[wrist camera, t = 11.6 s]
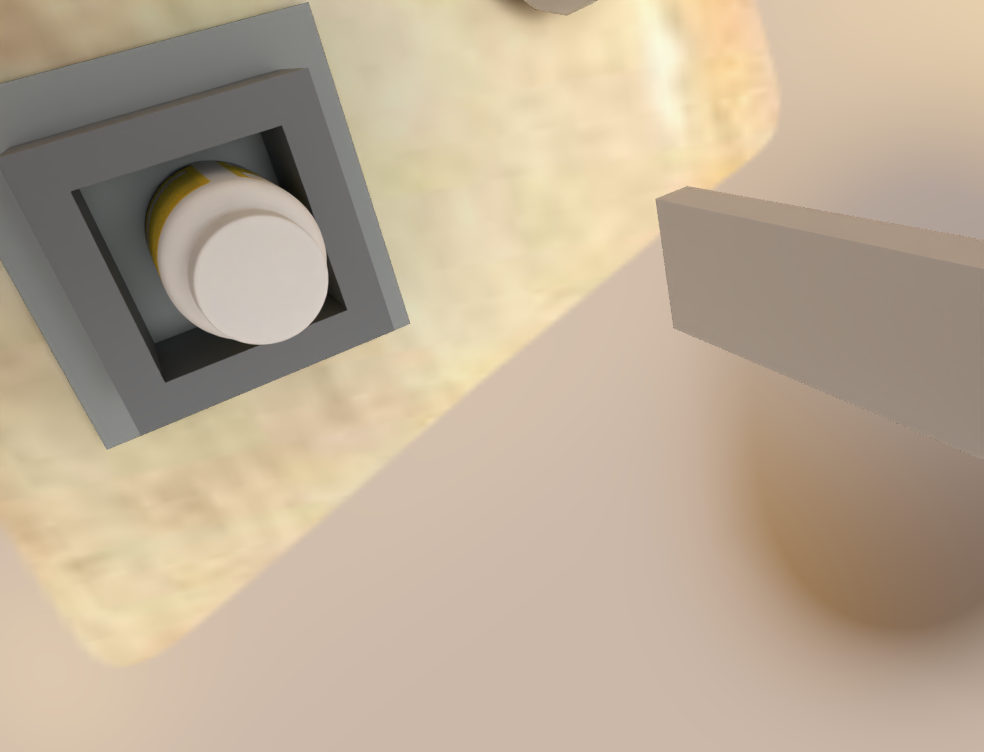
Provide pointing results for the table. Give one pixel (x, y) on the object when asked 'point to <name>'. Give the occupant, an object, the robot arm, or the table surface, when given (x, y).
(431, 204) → the table surface
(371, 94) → the table surface
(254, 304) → the supplement bottle
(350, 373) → the table surface
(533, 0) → the salt shaker
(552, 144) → the table surface
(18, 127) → the socket board
